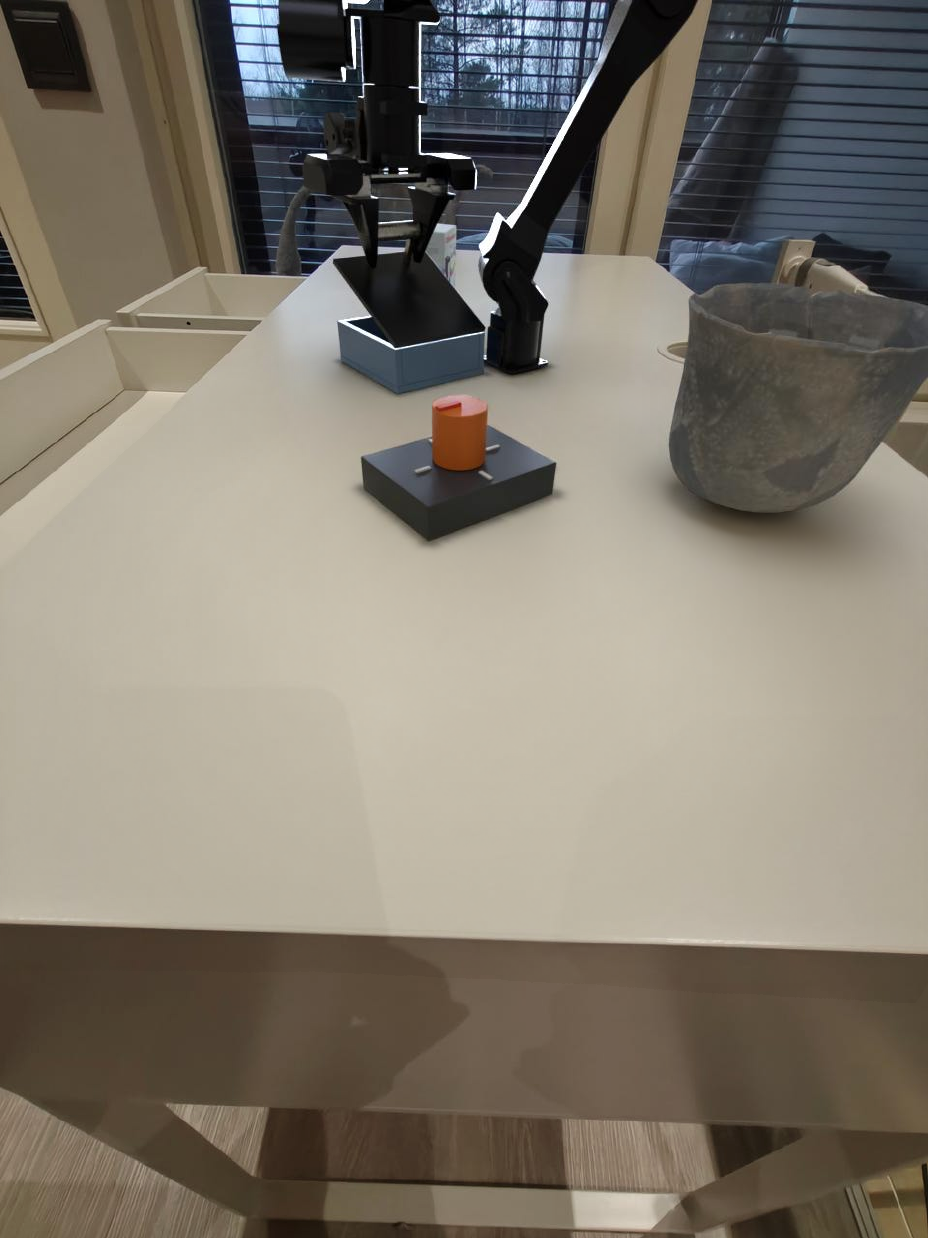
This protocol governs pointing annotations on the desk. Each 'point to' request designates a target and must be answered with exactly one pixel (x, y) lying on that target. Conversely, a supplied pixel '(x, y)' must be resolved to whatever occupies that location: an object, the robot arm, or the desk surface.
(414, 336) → the lid
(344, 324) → the blue open box
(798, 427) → the grey stone pot
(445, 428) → the dial
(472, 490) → the control panel
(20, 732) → the desk surface
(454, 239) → the ink box
